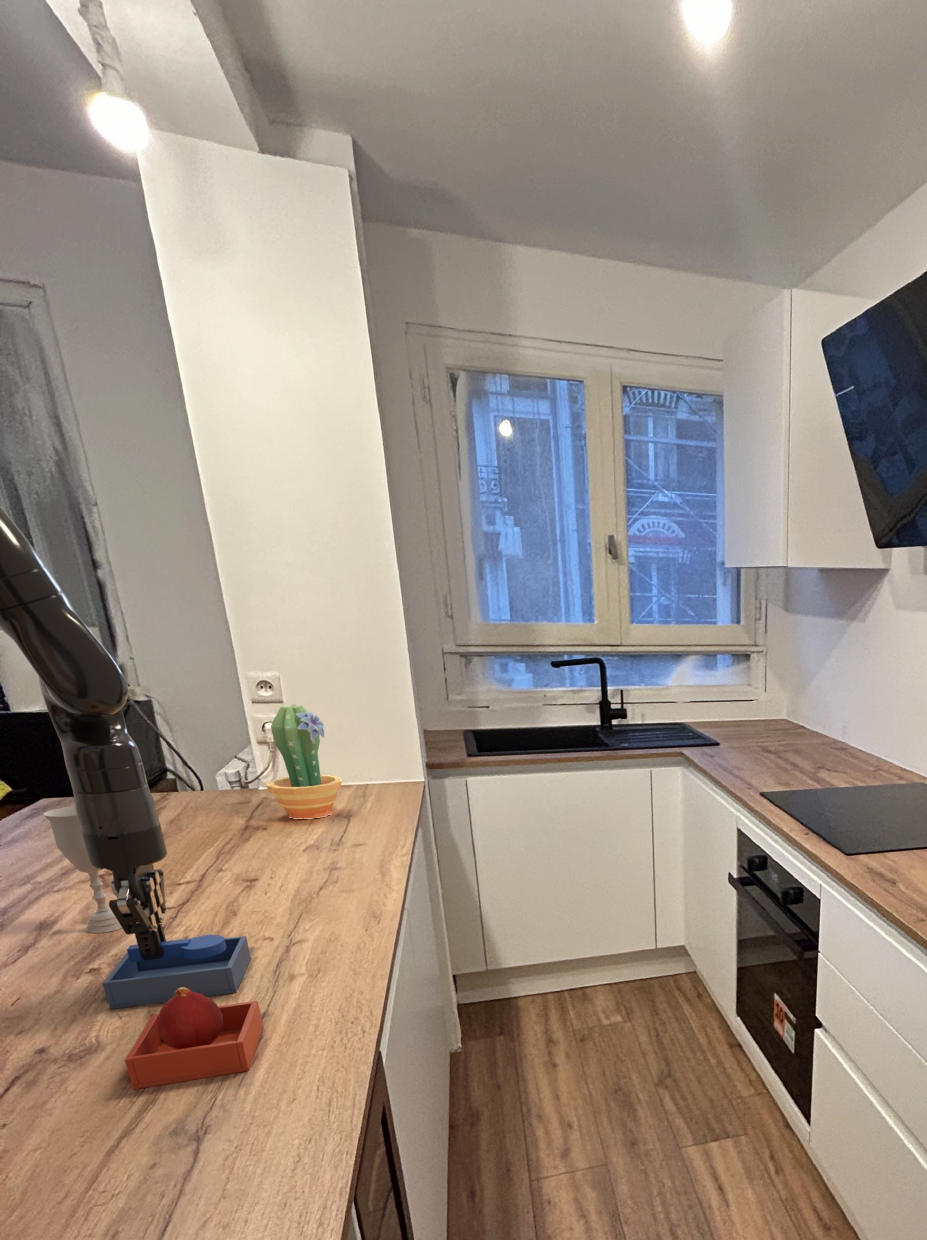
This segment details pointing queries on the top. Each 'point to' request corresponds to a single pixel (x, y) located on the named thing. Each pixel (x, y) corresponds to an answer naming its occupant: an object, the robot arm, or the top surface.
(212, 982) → the blue bin
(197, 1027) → the onion
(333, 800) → the potted cactus
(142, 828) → the robot arm
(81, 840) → the chalice
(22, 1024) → the top surface
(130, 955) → the blue paddle
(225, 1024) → the terracotta bin
